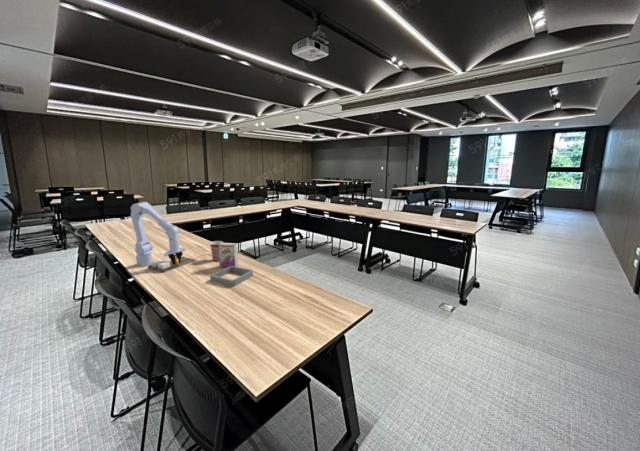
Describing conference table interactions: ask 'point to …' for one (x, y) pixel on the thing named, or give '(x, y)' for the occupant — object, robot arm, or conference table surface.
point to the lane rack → (182, 262)
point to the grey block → (155, 263)
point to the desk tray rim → (218, 279)
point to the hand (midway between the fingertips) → (176, 263)
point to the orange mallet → (167, 264)
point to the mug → (215, 250)
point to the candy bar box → (228, 254)
